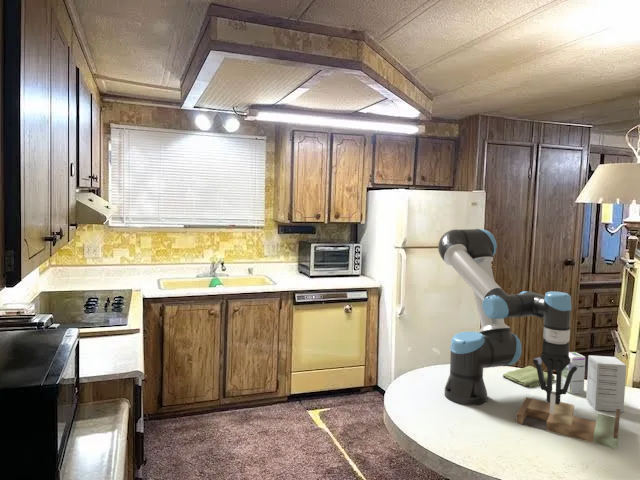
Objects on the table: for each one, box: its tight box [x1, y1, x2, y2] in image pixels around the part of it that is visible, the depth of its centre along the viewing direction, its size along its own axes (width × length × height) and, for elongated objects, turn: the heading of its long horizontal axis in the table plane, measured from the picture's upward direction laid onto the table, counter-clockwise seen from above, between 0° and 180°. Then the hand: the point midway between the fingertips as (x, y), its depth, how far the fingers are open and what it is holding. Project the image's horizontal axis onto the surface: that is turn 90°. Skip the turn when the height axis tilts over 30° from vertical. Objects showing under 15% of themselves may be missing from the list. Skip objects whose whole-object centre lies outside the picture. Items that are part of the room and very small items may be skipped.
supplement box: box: [585, 354, 627, 413], centre depth 166 cm, size 10×9×17 cm
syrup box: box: [561, 351, 586, 395], centre depth 179 cm, size 6×6×14 cm
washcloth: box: [502, 365, 556, 388], centre depth 192 cm, size 13×18×3 cm
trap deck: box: [515, 396, 621, 450], centre depth 152 cm, size 28×16×6 cm, turn 56°
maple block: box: [553, 401, 575, 426], centre depth 149 cm, size 5×5×5 cm
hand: (552, 412), depth 151 cm, fingers closed
